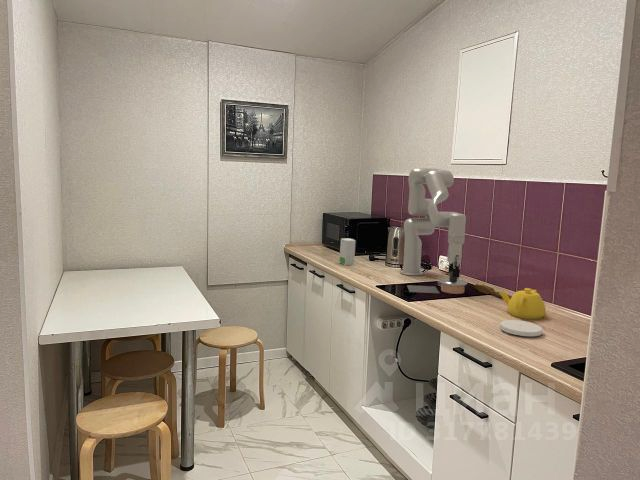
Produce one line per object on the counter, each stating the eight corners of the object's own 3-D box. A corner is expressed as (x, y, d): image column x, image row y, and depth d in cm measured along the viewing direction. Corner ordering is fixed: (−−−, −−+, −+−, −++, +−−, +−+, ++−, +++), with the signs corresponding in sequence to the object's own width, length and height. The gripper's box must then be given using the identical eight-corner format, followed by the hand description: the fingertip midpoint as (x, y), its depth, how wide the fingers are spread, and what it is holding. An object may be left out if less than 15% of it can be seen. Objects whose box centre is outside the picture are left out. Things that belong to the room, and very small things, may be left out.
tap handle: (515, 298, 210) (473, 283, 238) (514, 305, 210) (472, 289, 238) (521, 298, 211) (478, 282, 239) (520, 304, 211) (477, 288, 239)
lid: (436, 279, 236) (437, 268, 235) (463, 280, 235) (464, 269, 234) (441, 285, 223) (442, 273, 222) (470, 286, 222) (470, 275, 221)
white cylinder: (339, 263, 297) (340, 238, 295) (348, 262, 300) (349, 238, 298) (345, 265, 289) (346, 240, 287) (355, 265, 292) (356, 239, 290)
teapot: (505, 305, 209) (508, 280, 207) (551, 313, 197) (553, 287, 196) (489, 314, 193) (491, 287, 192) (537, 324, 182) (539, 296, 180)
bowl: (439, 289, 235) (440, 280, 234) (461, 290, 234) (461, 281, 234) (443, 294, 225) (444, 284, 224) (465, 295, 224) (466, 285, 223)
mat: (406, 286, 239) (406, 285, 239) (435, 287, 238) (435, 286, 238) (409, 293, 225) (409, 291, 225) (439, 294, 224) (439, 293, 224)
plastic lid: (542, 341, 163) (543, 334, 163) (499, 335, 168) (499, 328, 168) (540, 329, 176) (541, 323, 176) (500, 324, 181) (500, 318, 181)
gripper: (444, 237, 235) (442, 271, 237) (451, 241, 218) (449, 278, 220) (460, 237, 234) (457, 272, 237) (468, 242, 217) (465, 279, 220)
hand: (453, 275), depth 228 cm, fingers open, 9 cm apart
